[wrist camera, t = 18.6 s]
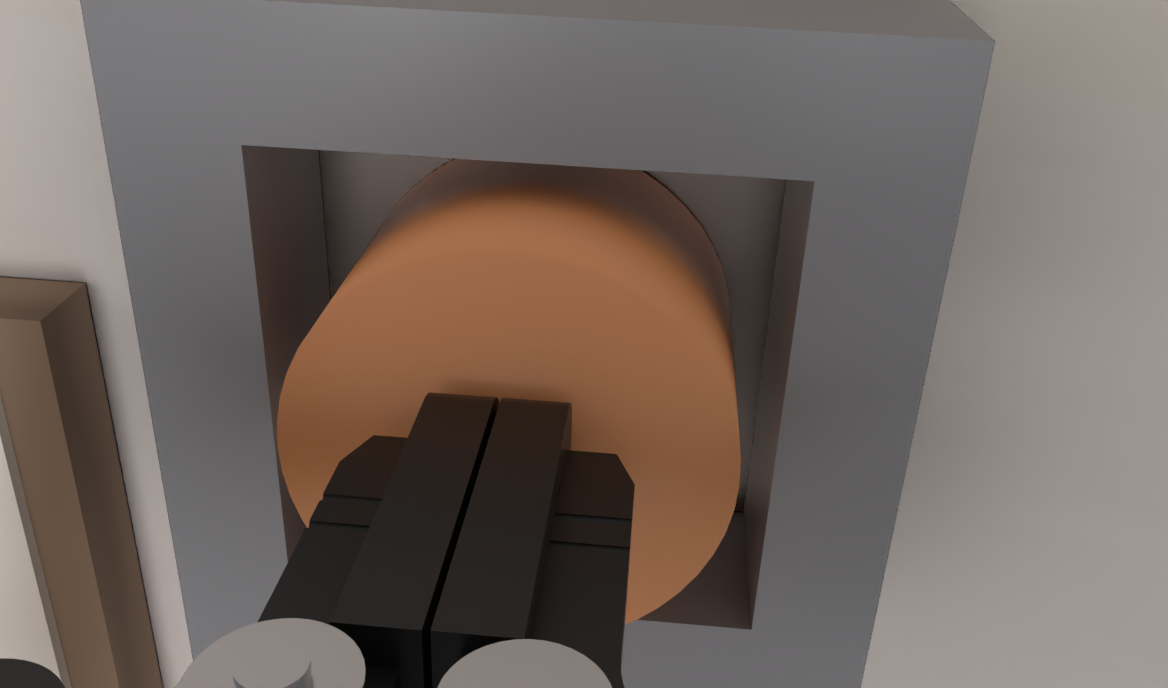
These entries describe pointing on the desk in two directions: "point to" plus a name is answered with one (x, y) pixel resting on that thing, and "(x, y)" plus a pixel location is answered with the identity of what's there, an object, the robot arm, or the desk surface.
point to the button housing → (571, 138)
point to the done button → (539, 342)
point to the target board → (64, 500)
